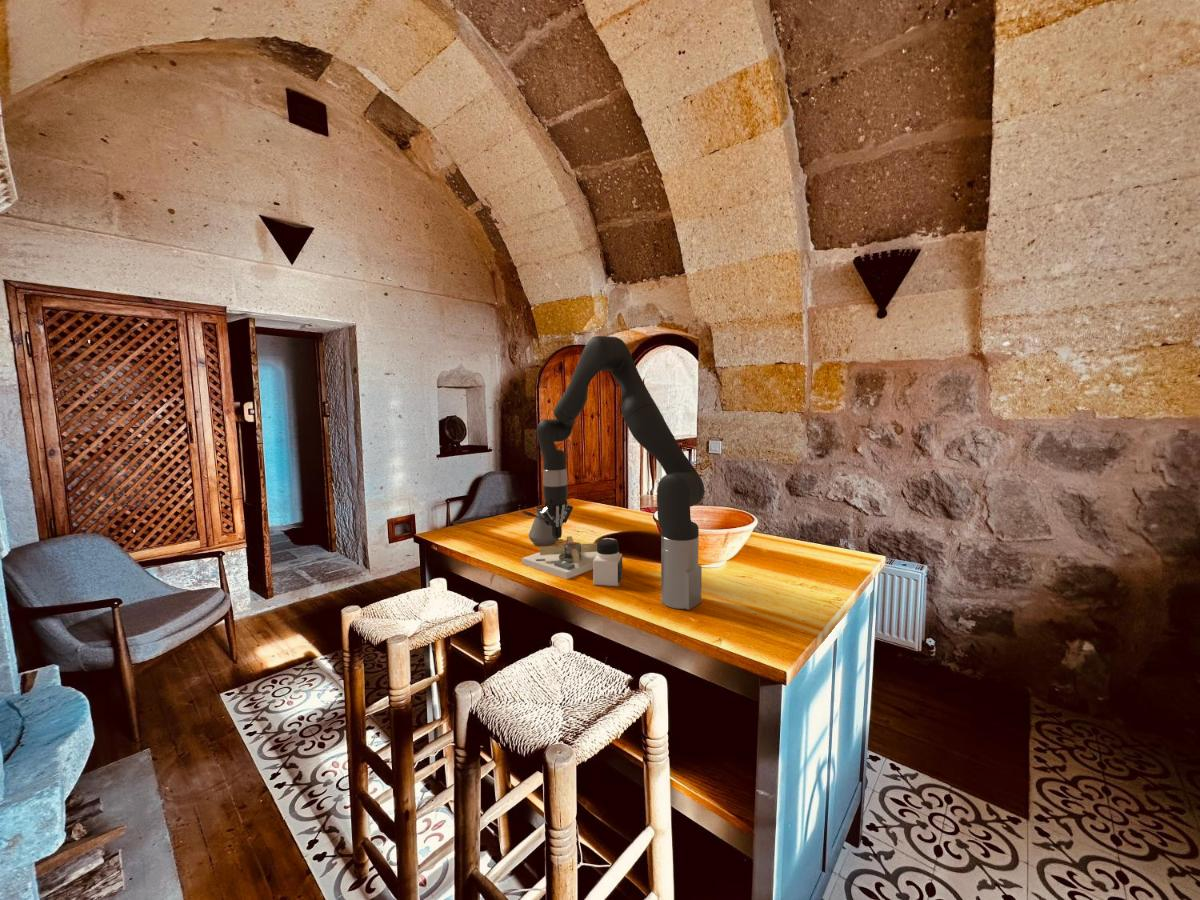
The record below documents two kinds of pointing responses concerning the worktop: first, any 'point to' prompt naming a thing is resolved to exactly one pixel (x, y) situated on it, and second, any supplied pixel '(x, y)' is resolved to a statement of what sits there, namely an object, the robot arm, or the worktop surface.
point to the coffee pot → (540, 529)
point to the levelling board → (560, 564)
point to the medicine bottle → (607, 563)
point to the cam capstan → (569, 550)
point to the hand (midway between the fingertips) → (557, 537)
